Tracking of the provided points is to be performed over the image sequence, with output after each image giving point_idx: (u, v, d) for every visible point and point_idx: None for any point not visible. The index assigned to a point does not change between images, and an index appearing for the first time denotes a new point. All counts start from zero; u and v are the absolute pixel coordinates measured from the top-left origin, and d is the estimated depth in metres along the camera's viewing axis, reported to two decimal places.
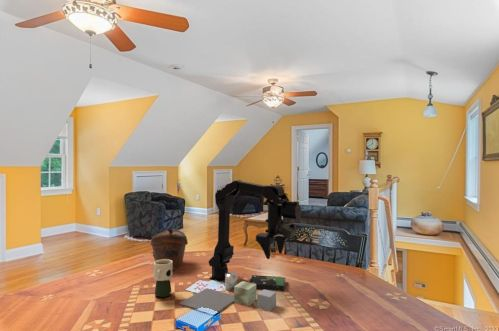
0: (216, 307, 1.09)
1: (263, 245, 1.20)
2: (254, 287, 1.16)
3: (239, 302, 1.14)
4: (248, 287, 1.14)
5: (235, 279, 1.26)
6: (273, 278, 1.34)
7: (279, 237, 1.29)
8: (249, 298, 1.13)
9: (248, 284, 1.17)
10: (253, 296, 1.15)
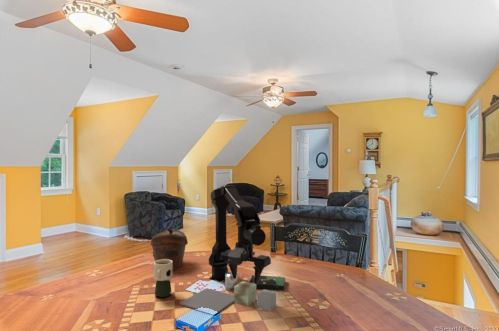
0: (216, 307, 1.09)
1: None
2: (254, 287, 1.16)
3: (239, 302, 1.14)
4: (248, 287, 1.14)
5: (235, 279, 1.26)
6: (273, 278, 1.34)
7: None
8: (249, 298, 1.13)
9: (248, 284, 1.17)
10: (253, 296, 1.15)
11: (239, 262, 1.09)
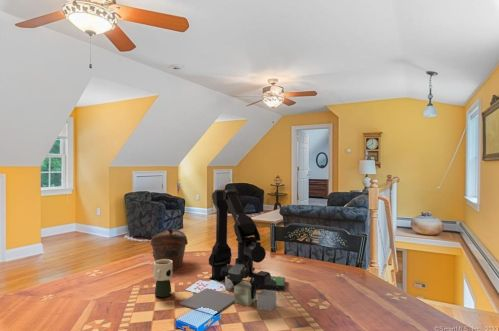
0: (216, 307, 1.09)
1: None
2: None
3: (239, 302, 1.14)
4: (248, 287, 1.14)
5: None
6: (273, 278, 1.34)
7: None
8: (249, 297, 1.13)
9: (248, 284, 1.17)
10: None
11: (239, 279, 1.09)
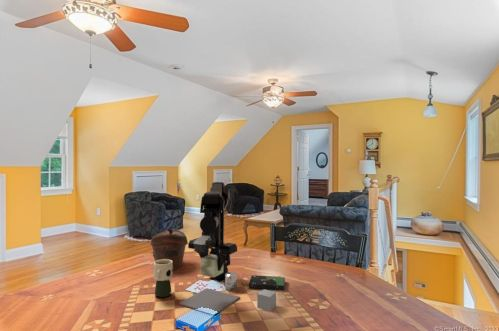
0: (216, 307, 1.09)
1: (204, 252, 1.19)
2: None
3: (205, 274, 1.13)
4: (214, 258, 1.14)
5: (235, 279, 1.26)
6: (273, 278, 1.34)
7: None
8: (215, 269, 1.12)
9: (215, 256, 1.16)
10: None
11: (204, 249, 1.08)
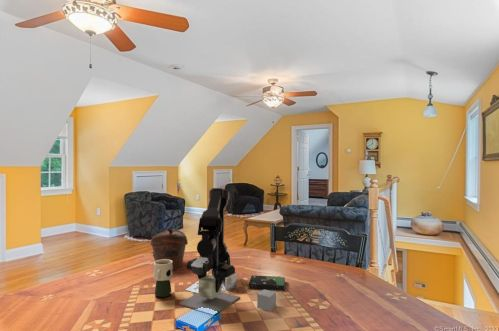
0: (216, 307, 1.09)
1: None
2: None
3: (203, 295, 1.14)
4: (212, 280, 1.14)
5: (235, 279, 1.26)
6: (273, 278, 1.34)
7: None
8: (212, 291, 1.12)
9: (213, 277, 1.16)
10: None
11: (201, 272, 1.08)
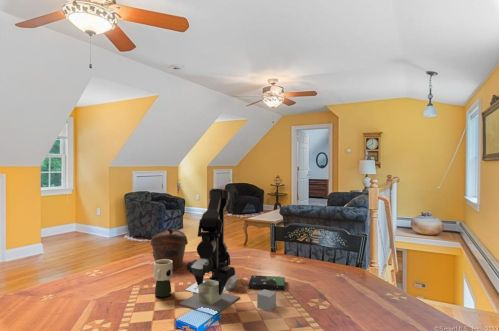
0: (216, 307, 1.09)
1: None
2: None
3: (203, 300, 1.14)
4: (212, 285, 1.14)
5: (235, 279, 1.26)
6: (273, 278, 1.34)
7: None
8: (213, 296, 1.12)
9: (214, 283, 1.16)
10: (218, 294, 1.15)
11: (201, 274, 1.08)
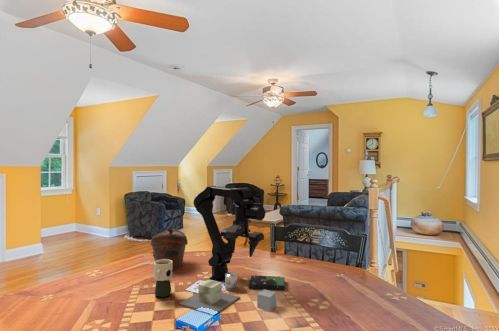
0: (216, 307, 1.09)
1: None
2: (219, 285, 1.16)
3: (203, 300, 1.14)
4: (212, 285, 1.14)
5: (235, 279, 1.26)
6: (272, 278, 1.34)
7: None
8: (213, 296, 1.12)
9: (214, 283, 1.16)
10: (218, 294, 1.15)
11: (235, 236, 1.23)
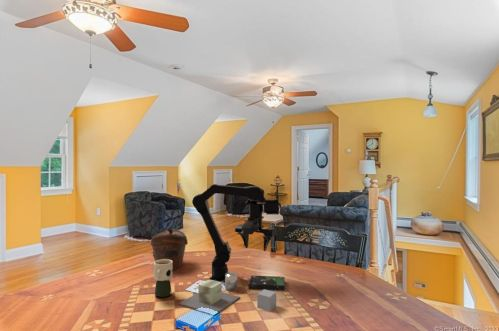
0: (216, 307, 1.09)
1: None
2: (219, 285, 1.16)
3: (203, 300, 1.14)
4: (212, 285, 1.14)
5: (235, 279, 1.26)
6: (272, 278, 1.34)
7: None
8: (213, 296, 1.12)
9: (214, 283, 1.16)
10: (218, 294, 1.15)
11: (251, 232, 1.32)
